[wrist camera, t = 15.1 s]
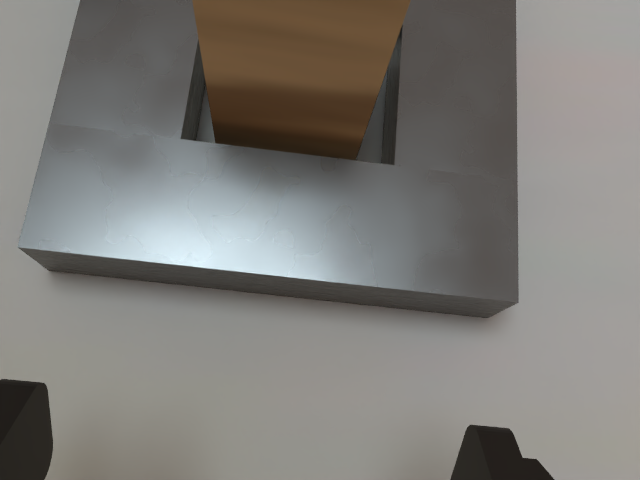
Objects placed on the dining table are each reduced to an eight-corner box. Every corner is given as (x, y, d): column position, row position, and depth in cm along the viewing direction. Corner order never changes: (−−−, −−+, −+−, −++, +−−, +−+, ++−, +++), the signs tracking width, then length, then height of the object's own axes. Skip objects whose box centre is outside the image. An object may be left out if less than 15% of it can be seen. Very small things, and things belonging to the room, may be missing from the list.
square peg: (351, 171, 21) (425, -43, 11) (217, 154, 21) (178, -81, 11) (362, 57, 22) (437, -220, 13) (237, 39, 22) (217, -257, 13)
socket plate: (487, 317, 20) (518, 302, 17) (48, 270, 19) (17, 247, 17) (490, -33, 24) (515, -84, 22) (131, -84, 23) (116, -143, 21)
